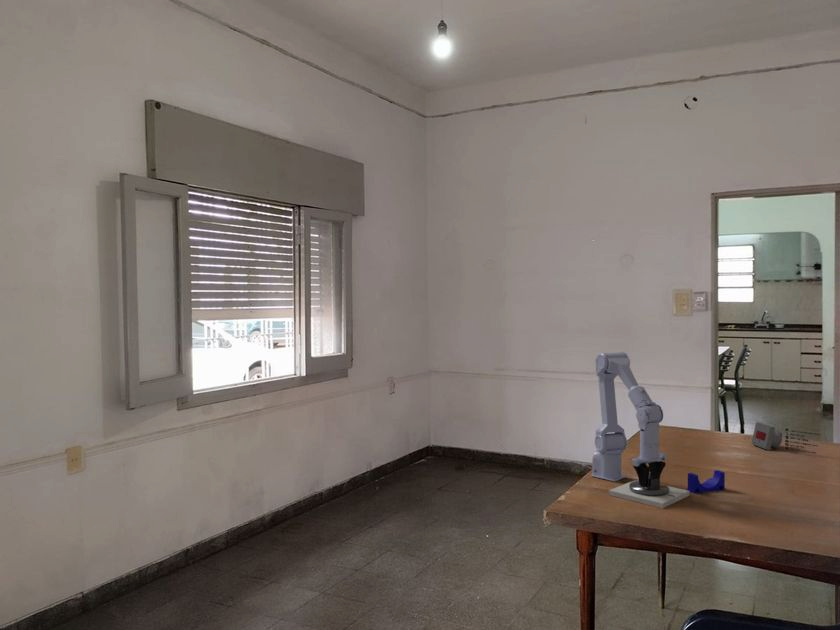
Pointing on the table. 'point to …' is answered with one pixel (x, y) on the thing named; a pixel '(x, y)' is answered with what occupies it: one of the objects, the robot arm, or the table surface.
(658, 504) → the dial panel
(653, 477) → the dial
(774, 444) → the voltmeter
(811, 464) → the table surface
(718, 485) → the blue cradle block
